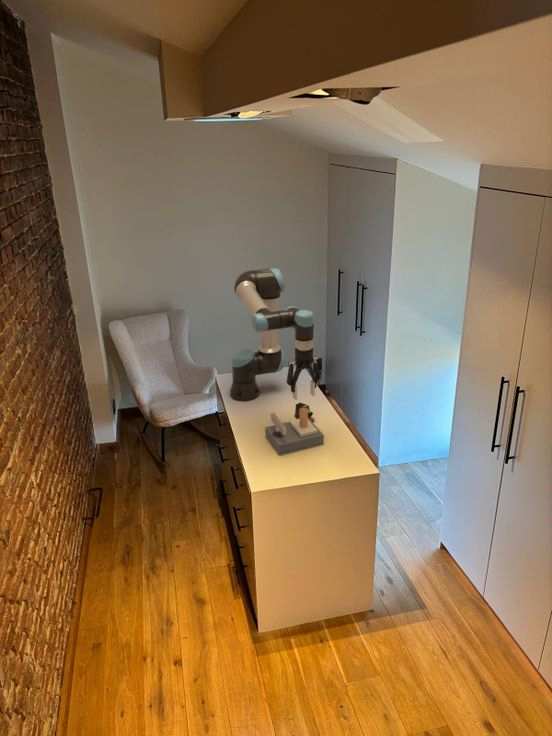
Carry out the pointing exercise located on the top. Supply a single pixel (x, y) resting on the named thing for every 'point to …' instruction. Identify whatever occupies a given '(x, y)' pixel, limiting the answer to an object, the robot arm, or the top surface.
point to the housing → (292, 439)
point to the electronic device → (301, 405)
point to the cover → (303, 424)
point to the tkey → (278, 425)
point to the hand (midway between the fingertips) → (303, 396)
